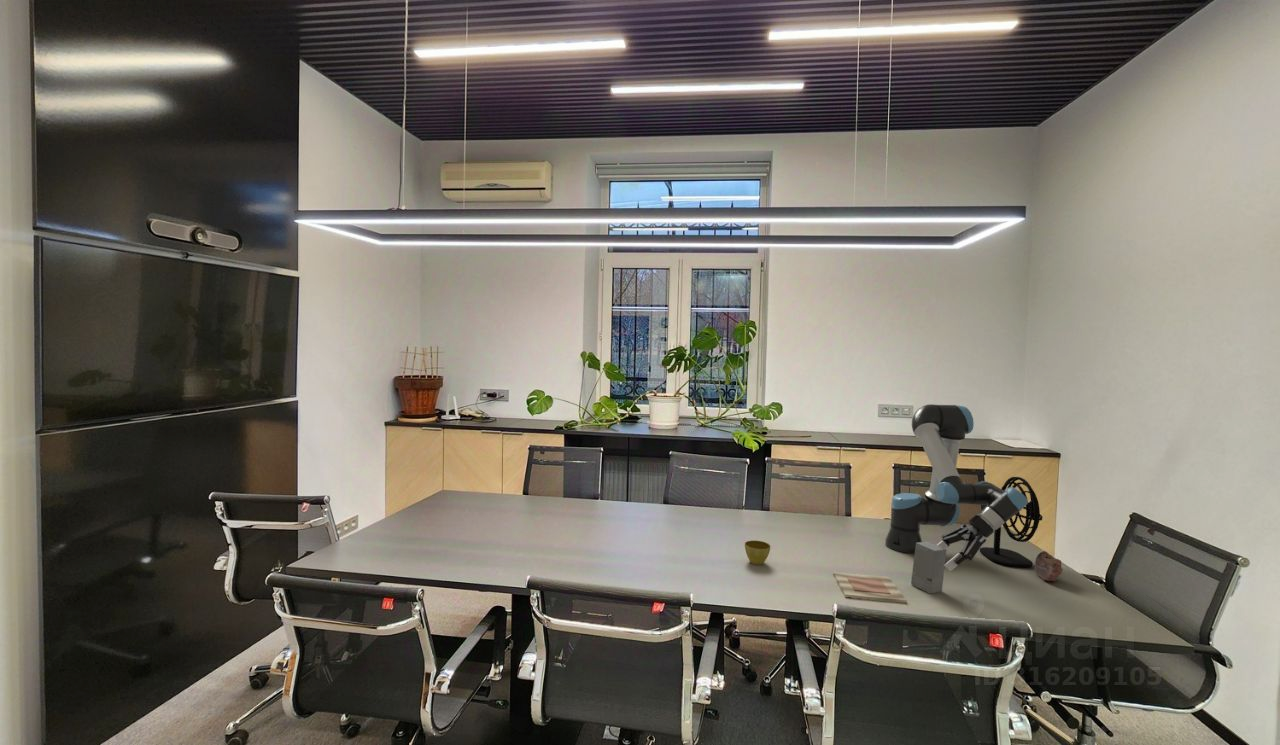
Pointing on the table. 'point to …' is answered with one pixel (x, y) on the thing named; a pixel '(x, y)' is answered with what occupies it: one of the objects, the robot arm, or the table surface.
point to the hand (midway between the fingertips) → (938, 561)
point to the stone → (1047, 566)
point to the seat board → (869, 587)
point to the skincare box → (928, 567)
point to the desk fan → (1033, 511)
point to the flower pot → (757, 551)
